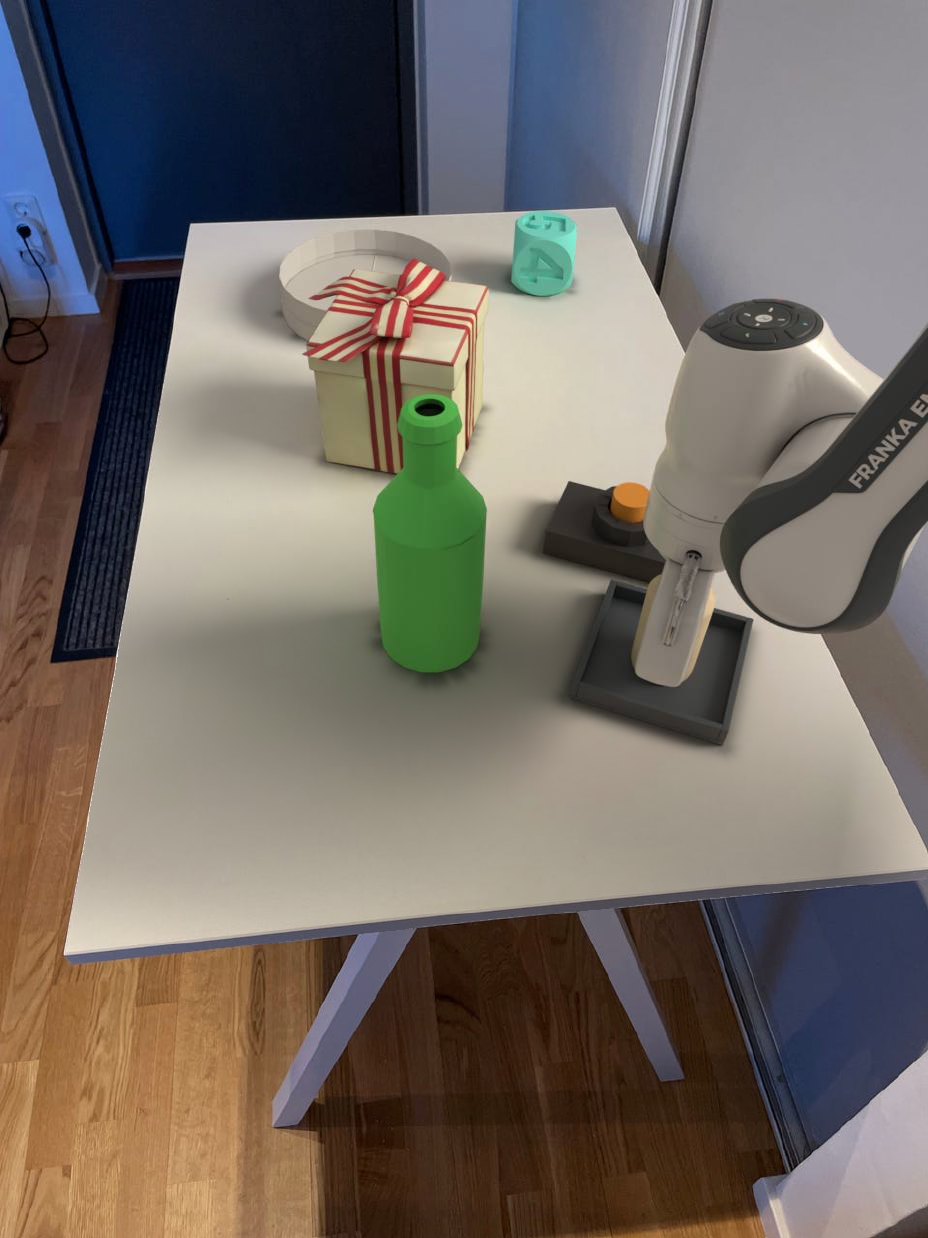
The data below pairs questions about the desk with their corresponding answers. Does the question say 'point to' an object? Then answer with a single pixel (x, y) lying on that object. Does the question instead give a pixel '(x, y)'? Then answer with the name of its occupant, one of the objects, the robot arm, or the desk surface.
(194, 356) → the desk surface
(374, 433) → the gift box
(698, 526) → the robot arm
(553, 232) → the decorative dice
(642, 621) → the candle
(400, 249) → the dish
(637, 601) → the soap tray
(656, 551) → the button base
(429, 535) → the bottle
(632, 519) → the orange button cap
